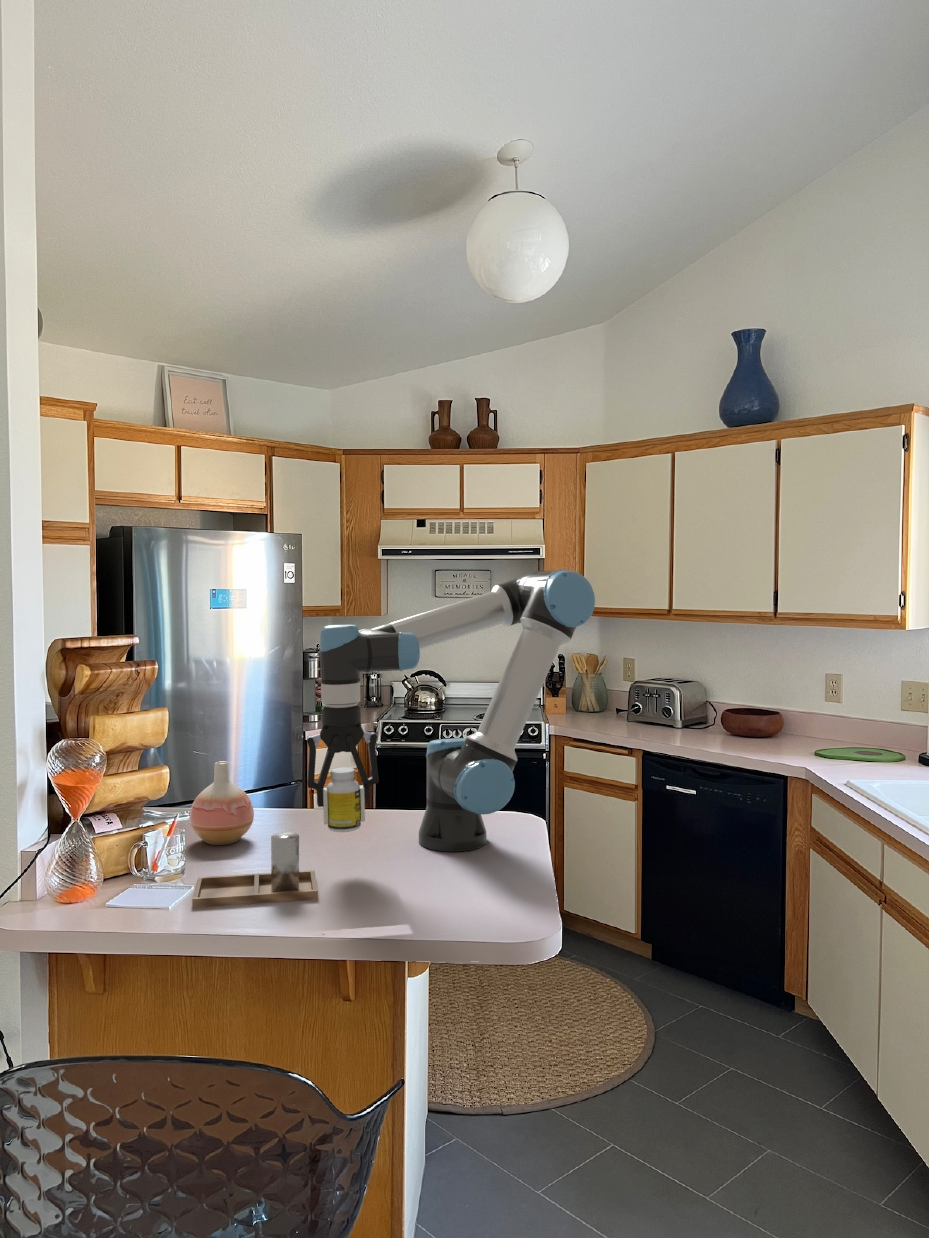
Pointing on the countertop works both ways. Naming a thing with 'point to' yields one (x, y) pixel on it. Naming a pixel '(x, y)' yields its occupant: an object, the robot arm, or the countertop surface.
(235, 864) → the countertop surface
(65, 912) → the countertop surface
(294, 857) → the canister
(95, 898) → the countertop surface
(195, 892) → the rack
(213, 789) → the vase
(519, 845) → the countertop surface
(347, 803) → the pill bottle
